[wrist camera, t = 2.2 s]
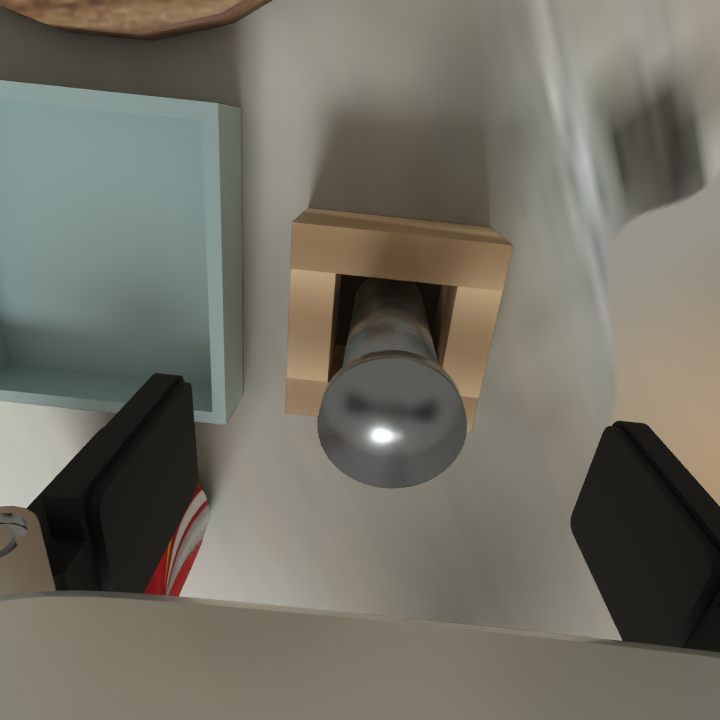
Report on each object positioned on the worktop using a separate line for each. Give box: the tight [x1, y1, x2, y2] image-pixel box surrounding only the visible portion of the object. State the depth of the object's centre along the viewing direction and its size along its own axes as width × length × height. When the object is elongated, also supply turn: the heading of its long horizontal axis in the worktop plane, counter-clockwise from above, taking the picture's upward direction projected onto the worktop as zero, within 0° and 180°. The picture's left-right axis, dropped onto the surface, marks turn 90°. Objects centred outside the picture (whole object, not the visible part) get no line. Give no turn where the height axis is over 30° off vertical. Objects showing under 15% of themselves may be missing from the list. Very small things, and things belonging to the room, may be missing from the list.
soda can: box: [144, 484, 210, 597], centre depth 23 cm, size 7×7×12 cm
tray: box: [0, 80, 243, 425], centre depth 21 cm, size 13×12×3 cm
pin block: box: [285, 208, 513, 433], centre depth 21 cm, size 8×8×4 cm
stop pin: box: [318, 277, 467, 488], centre depth 18 cm, size 4×4×11 cm
